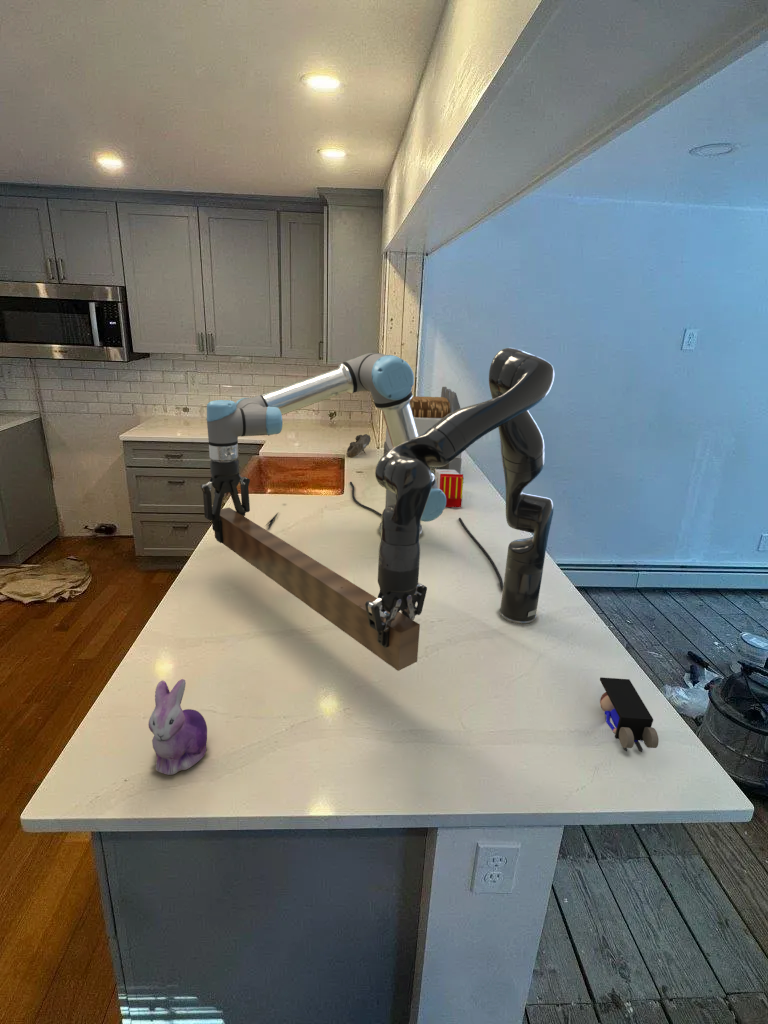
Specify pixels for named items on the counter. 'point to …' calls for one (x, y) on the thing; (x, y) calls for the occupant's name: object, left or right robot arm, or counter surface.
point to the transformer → (431, 418)
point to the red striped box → (450, 486)
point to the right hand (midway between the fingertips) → (394, 640)
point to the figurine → (176, 730)
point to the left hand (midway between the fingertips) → (229, 538)
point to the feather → (271, 521)
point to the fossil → (358, 445)
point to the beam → (319, 588)
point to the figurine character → (627, 714)
